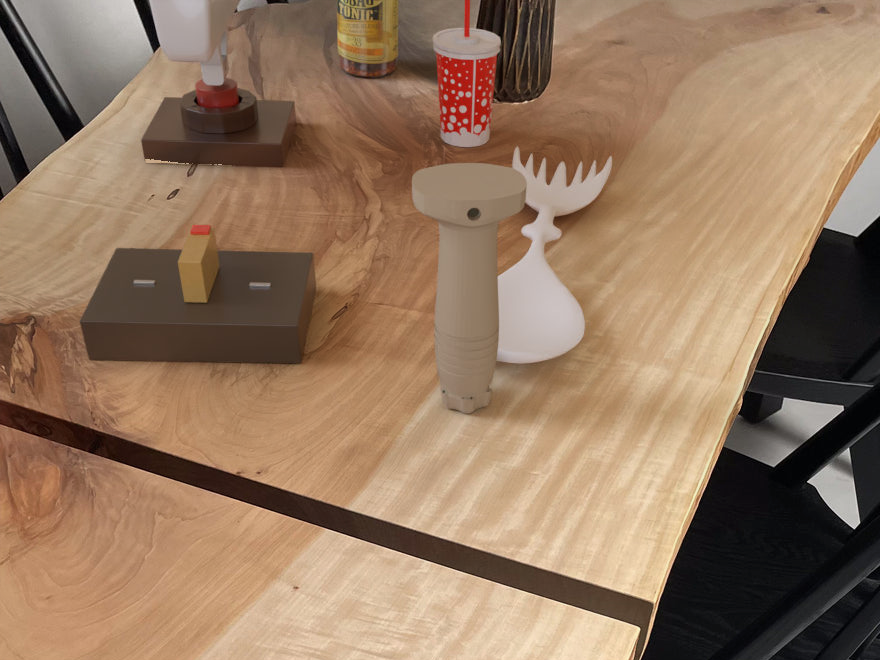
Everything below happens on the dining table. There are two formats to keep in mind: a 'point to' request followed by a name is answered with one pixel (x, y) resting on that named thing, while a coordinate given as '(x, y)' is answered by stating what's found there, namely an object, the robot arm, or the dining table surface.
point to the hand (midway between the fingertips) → (216, 79)
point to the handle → (467, 271)
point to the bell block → (221, 132)
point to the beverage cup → (466, 82)
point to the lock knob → (198, 264)
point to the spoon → (543, 270)
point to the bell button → (217, 94)
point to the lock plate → (201, 309)
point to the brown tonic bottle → (367, 36)
